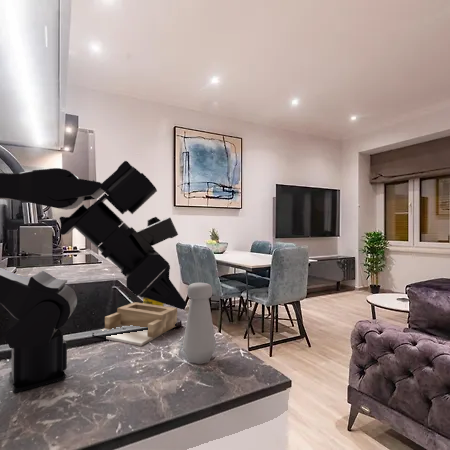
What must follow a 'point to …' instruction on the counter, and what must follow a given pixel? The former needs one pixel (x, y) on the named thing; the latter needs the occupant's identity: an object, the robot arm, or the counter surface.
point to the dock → (141, 322)
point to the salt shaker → (199, 325)
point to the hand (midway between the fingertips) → (179, 299)
